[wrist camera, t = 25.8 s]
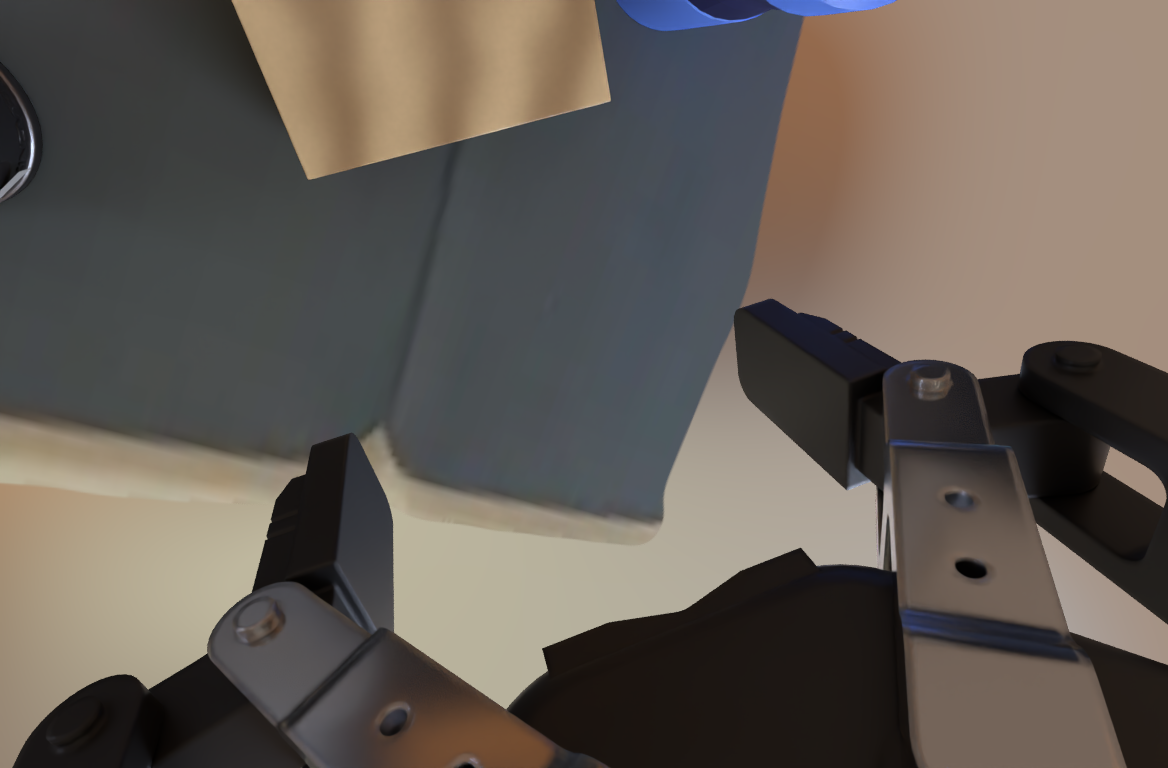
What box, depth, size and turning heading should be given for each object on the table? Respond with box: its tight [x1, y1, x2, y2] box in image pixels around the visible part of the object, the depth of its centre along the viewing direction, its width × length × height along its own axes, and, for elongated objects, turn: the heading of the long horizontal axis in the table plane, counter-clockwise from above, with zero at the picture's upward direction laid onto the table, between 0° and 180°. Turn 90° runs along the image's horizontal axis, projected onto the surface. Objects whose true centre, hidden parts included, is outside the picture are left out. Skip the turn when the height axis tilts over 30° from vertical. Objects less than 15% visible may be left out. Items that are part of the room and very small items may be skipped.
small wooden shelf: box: [232, 0, 611, 180], centre depth 32 cm, size 16×10×9 cm, turn 103°
